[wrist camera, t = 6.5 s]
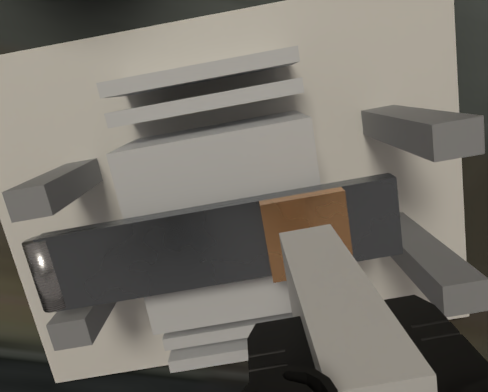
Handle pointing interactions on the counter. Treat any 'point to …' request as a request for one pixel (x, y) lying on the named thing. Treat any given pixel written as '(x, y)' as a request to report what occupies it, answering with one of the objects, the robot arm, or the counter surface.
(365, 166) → the heatsink base
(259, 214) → the lever
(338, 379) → the robot arm
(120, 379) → the counter surface
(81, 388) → the counter surface
